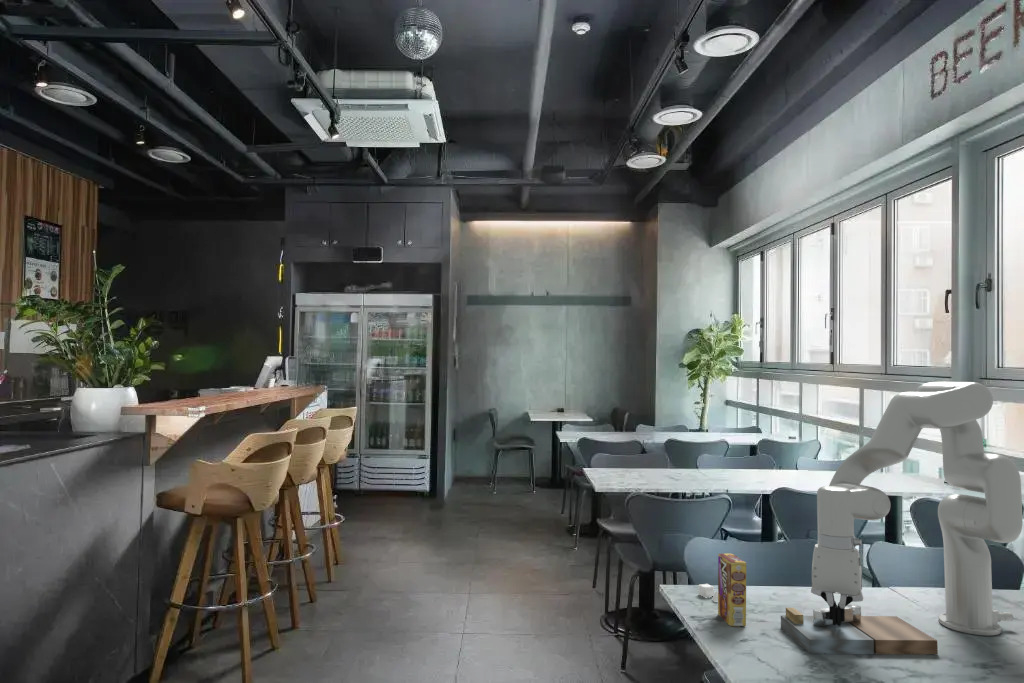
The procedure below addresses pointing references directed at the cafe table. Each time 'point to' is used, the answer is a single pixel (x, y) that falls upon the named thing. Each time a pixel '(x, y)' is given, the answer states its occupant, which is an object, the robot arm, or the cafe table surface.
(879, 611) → the cafe table surface
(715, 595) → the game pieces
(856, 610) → the swing bar
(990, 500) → the robot arm
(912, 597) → the cafe table surface
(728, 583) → the candy box
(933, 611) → the cafe table surface
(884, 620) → the gray and brown slabs
